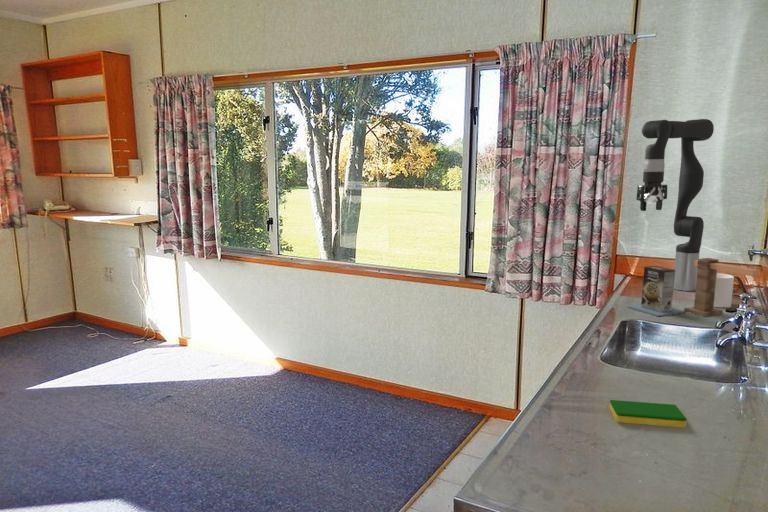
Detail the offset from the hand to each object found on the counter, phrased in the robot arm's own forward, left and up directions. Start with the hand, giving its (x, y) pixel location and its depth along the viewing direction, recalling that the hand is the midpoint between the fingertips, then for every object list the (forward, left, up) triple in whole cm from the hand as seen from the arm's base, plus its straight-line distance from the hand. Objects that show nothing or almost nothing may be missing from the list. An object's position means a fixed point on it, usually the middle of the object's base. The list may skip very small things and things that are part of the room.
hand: (651, 210), depth 213 cm
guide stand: (-2, +25, -37) cm, 45 cm away
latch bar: (-2, +32, -20) cm, 38 cm away
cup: (-18, +18, -38) cm, 45 cm away
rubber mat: (+12, +16, -37) cm, 42 cm away
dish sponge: (+88, +81, -38) cm, 125 cm away
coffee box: (+11, +16, -37) cm, 42 cm away
